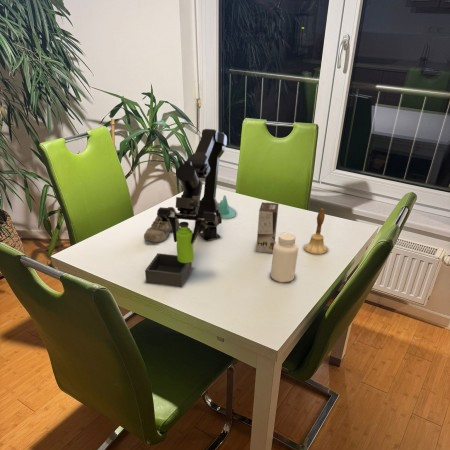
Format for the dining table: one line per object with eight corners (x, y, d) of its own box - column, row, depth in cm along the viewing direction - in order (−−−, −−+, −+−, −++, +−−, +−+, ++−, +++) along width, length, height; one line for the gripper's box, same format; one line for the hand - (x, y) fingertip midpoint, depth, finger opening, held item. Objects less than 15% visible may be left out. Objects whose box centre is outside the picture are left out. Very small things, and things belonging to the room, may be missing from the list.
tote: (158, 264, 144) (157, 253, 141) (191, 268, 142) (191, 257, 140) (146, 282, 134) (144, 270, 132) (181, 286, 132) (181, 274, 130)
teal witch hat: (220, 201, 195) (220, 183, 191) (242, 216, 181) (243, 197, 176) (197, 205, 191) (197, 187, 186) (217, 221, 176) (218, 201, 171)
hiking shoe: (134, 236, 157) (146, 212, 150) (161, 222, 174) (174, 199, 167) (152, 252, 157) (166, 228, 150) (178, 235, 174) (191, 214, 167)
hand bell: (306, 242, 160) (312, 203, 151) (328, 246, 158) (335, 206, 149) (302, 252, 154) (308, 211, 145) (325, 255, 151) (332, 215, 142)
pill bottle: (288, 285, 134) (293, 243, 126) (266, 278, 137) (270, 237, 129) (298, 274, 140) (303, 234, 131) (276, 268, 143) (280, 228, 135)
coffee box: (272, 253, 152) (276, 212, 143) (255, 251, 153) (258, 210, 144) (275, 242, 160) (279, 202, 151) (259, 241, 161) (261, 201, 152)
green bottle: (175, 257, 134) (172, 221, 127) (189, 254, 136) (188, 218, 129) (181, 264, 130) (179, 228, 123) (196, 260, 133) (195, 224, 125)
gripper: (156, 182, 125) (147, 230, 122) (216, 187, 122) (208, 236, 119) (166, 198, 136) (157, 242, 133) (221, 202, 133) (214, 248, 130)
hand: (183, 242), depth 129 cm, fingers closed on green bottle, 5 cm apart
